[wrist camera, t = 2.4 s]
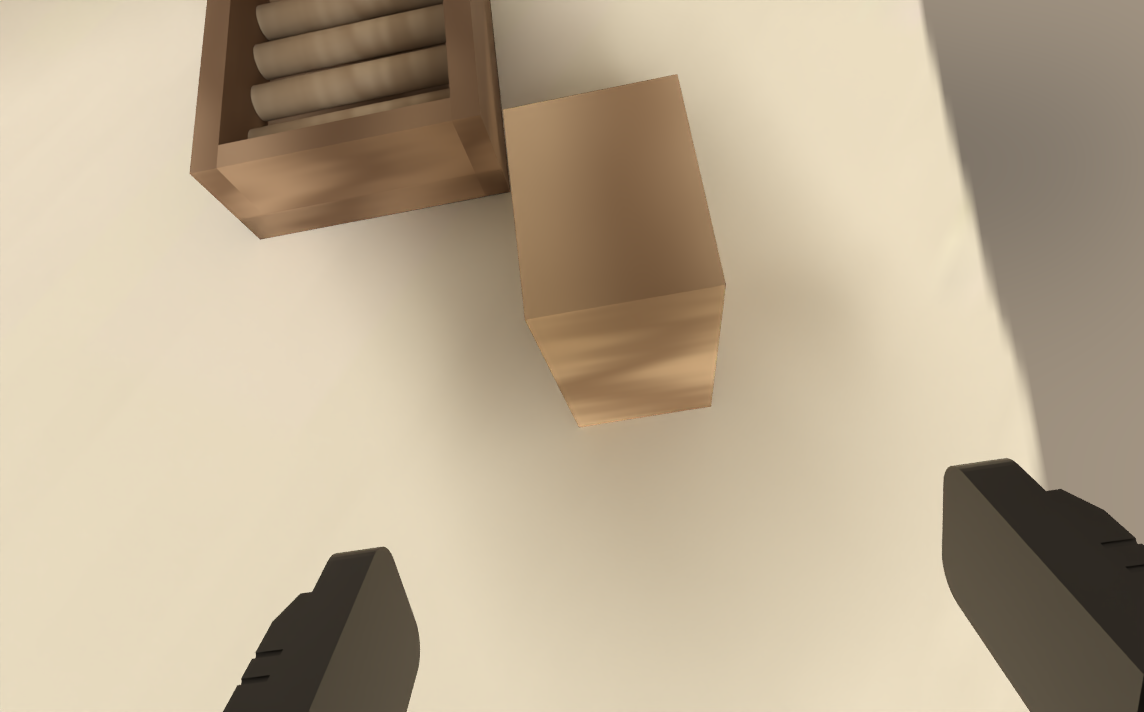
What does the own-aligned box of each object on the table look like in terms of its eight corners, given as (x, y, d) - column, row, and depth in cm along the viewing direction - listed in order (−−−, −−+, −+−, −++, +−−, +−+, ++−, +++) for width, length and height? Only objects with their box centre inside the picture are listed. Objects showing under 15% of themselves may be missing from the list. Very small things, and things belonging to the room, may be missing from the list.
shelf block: (579, 427, 24) (524, 319, 16) (559, 273, 26) (502, 110, 18) (710, 406, 24) (725, 284, 15) (679, 252, 26) (677, 74, 18)
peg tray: (260, 239, 29) (189, 173, 25) (271, 22, 34) (213, -64, 29) (510, 191, 28) (480, 114, 24) (487, -25, 33) (458, -121, 28)
